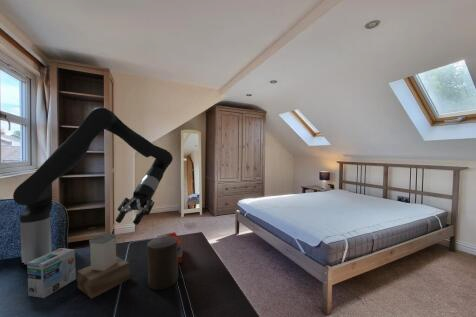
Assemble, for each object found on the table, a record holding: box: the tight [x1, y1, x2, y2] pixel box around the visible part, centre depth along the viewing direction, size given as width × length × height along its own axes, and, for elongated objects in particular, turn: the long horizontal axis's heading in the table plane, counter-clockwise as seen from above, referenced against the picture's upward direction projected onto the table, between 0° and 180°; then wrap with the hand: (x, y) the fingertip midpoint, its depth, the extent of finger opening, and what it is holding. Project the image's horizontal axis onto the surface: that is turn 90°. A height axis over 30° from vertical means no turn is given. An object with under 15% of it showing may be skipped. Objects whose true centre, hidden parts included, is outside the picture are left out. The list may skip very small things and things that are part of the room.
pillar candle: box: [146, 237, 179, 291], centre depth 72 cm, size 10×10×15 cm
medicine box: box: [156, 231, 184, 265], centre depth 89 cm, size 15×8×8 cm, turn 29°
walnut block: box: [76, 255, 131, 300], centre depth 72 cm, size 10×12×6 cm
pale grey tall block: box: [88, 233, 117, 271], centre depth 72 cm, size 5×5×10 cm
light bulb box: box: [26, 247, 77, 299], centre depth 70 cm, size 11×7×11 cm, turn 168°
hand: (126, 222), depth 81 cm, fingers open, 8 cm apart
